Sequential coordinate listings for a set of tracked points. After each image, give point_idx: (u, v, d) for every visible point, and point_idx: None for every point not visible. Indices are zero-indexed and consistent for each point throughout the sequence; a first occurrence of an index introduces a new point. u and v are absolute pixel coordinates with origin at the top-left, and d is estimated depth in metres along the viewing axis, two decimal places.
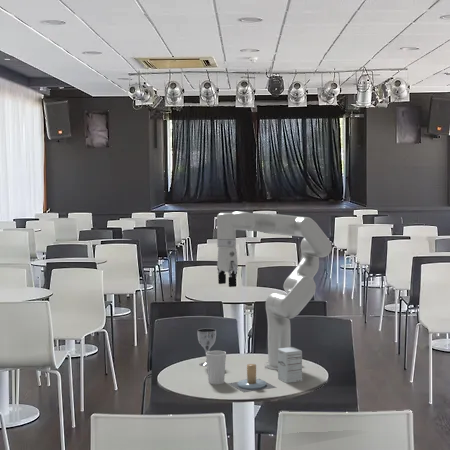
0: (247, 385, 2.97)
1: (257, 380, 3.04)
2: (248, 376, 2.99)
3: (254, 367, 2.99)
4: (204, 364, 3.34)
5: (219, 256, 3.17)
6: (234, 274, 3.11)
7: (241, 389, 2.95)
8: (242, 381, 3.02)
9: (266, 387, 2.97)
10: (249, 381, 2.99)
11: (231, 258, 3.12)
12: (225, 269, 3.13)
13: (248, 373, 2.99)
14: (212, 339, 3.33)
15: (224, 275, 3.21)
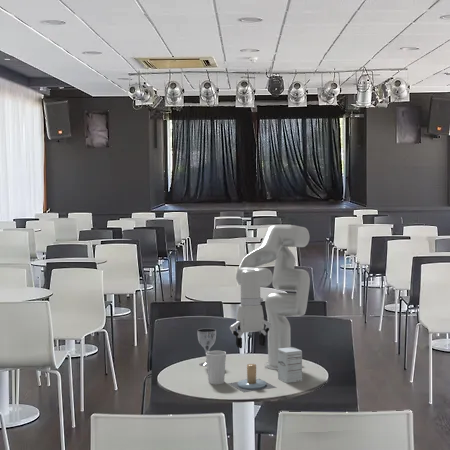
0: (247, 385, 2.97)
1: (257, 380, 3.04)
2: (248, 376, 2.99)
3: (254, 367, 2.99)
4: (204, 364, 3.34)
5: (249, 317, 2.96)
6: None
7: (241, 389, 2.95)
8: (242, 381, 3.02)
9: (266, 387, 2.97)
10: (249, 381, 2.99)
11: None
12: (259, 328, 2.98)
13: (248, 373, 2.99)
14: (212, 339, 3.33)
15: None
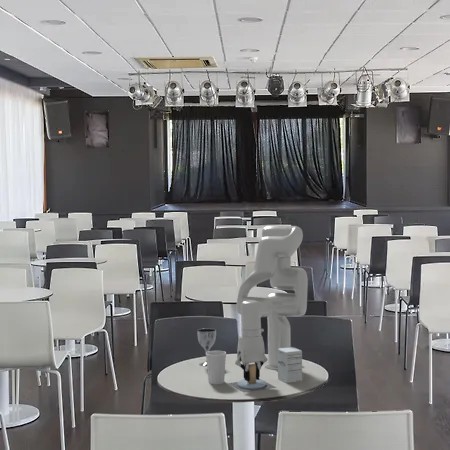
0: (247, 385, 2.97)
1: (257, 380, 3.04)
2: None
3: (254, 367, 2.99)
4: (204, 364, 3.34)
5: (249, 348, 2.97)
6: None
7: (241, 389, 2.95)
8: (242, 381, 3.02)
9: (266, 387, 2.97)
10: (249, 381, 2.99)
11: None
12: (260, 359, 2.99)
13: None
14: (212, 339, 3.33)
15: None
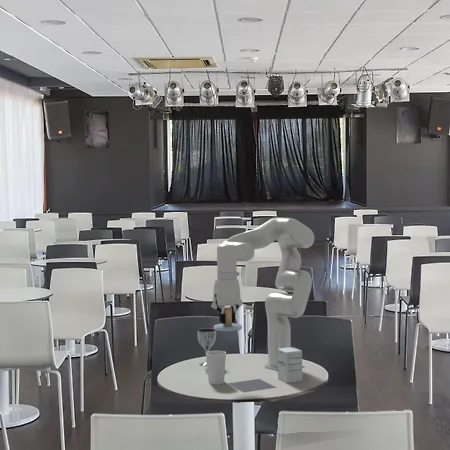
0: (223, 327, 2.99)
1: (233, 324, 3.06)
2: None
3: (230, 310, 3.01)
4: (204, 364, 3.34)
5: (225, 291, 2.99)
6: None
7: (241, 389, 2.95)
8: (218, 325, 3.04)
9: (266, 387, 2.97)
10: (225, 324, 3.01)
11: None
12: (236, 302, 3.02)
13: None
14: (212, 339, 3.33)
15: None
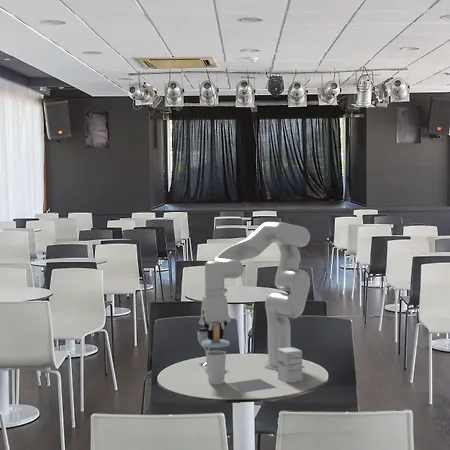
0: (210, 343, 3.02)
1: (221, 340, 3.08)
2: None
3: (218, 326, 3.03)
4: (204, 364, 3.34)
5: (213, 307, 3.01)
6: None
7: (241, 389, 2.95)
8: (206, 341, 3.07)
9: (266, 387, 2.97)
10: (213, 340, 3.04)
11: None
12: (224, 318, 3.04)
13: None
14: None
15: None
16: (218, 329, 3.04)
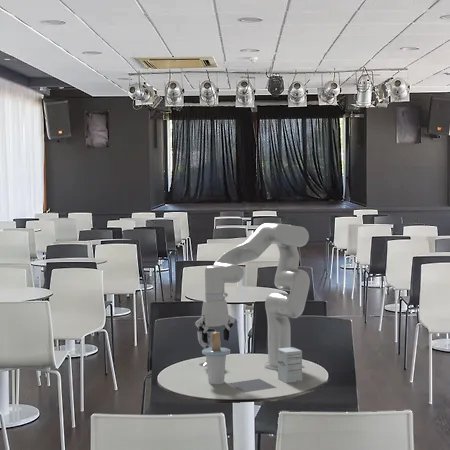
0: (211, 352, 3.02)
1: (222, 348, 3.09)
2: (212, 344, 3.04)
3: (218, 335, 3.04)
4: (204, 364, 3.34)
5: (213, 312, 3.01)
6: None
7: (241, 389, 2.95)
8: (207, 349, 3.07)
9: (266, 387, 2.97)
10: (213, 348, 3.04)
11: None
12: (224, 323, 3.04)
13: (212, 341, 3.04)
14: None
15: None
16: (219, 337, 3.04)
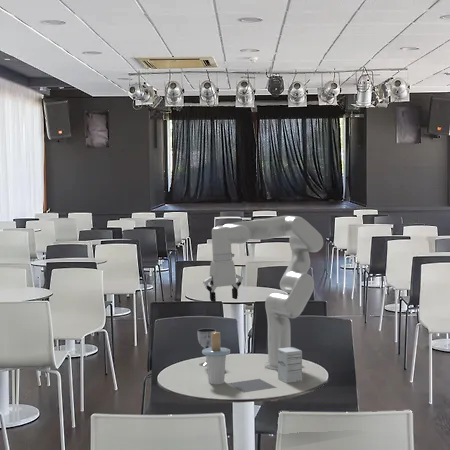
0: (211, 352, 3.02)
1: (222, 348, 3.09)
2: (212, 344, 3.04)
3: (218, 335, 3.04)
4: (204, 364, 3.34)
5: (221, 272, 3.07)
6: None
7: (241, 389, 2.95)
8: (207, 349, 3.07)
9: (266, 387, 2.97)
10: (213, 348, 3.04)
11: None
12: (232, 282, 3.10)
13: (212, 341, 3.04)
14: None
15: None
16: (219, 337, 3.04)
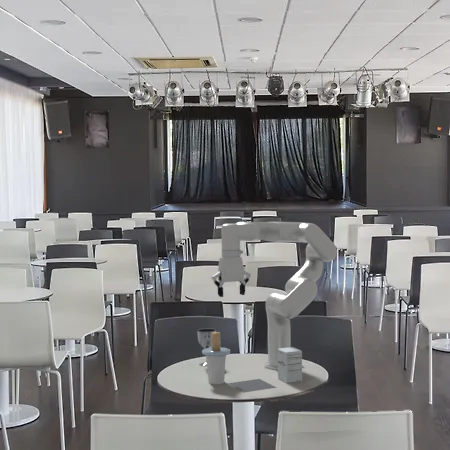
0: (211, 352, 3.02)
1: (222, 348, 3.09)
2: (212, 344, 3.04)
3: (218, 335, 3.04)
4: (204, 364, 3.34)
5: (229, 268, 3.15)
6: None
7: (241, 389, 2.95)
8: (207, 349, 3.07)
9: (266, 387, 2.97)
10: (213, 348, 3.04)
11: None
12: (239, 278, 3.17)
13: (212, 341, 3.04)
14: None
15: None
16: (219, 337, 3.04)
